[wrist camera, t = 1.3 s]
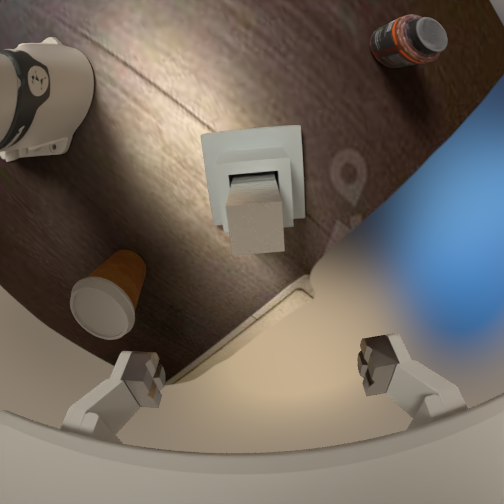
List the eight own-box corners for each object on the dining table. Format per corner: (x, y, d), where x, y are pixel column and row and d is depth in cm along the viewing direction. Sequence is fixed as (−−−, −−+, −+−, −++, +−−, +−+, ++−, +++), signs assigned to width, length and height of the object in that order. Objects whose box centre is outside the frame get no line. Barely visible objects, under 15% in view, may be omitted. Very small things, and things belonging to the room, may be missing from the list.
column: (240, 194, 37) (232, 255, 23) (236, 162, 35) (225, 206, 21) (272, 191, 37) (284, 251, 23) (270, 159, 35) (282, 201, 21)
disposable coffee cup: (156, 296, 47) (134, 348, 36) (104, 285, 46) (74, 332, 36) (156, 244, 42) (129, 292, 32) (99, 235, 42) (61, 277, 31)
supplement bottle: (410, 69, 30) (459, 65, 20) (372, 68, 30) (414, 59, 20) (403, 29, 27) (448, 14, 17) (363, 26, 28) (402, 5, 18)
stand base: (215, 221, 41) (204, 257, 32) (202, 133, 35) (185, 144, 26) (303, 213, 40) (317, 247, 31) (298, 125, 34) (314, 132, 26)
